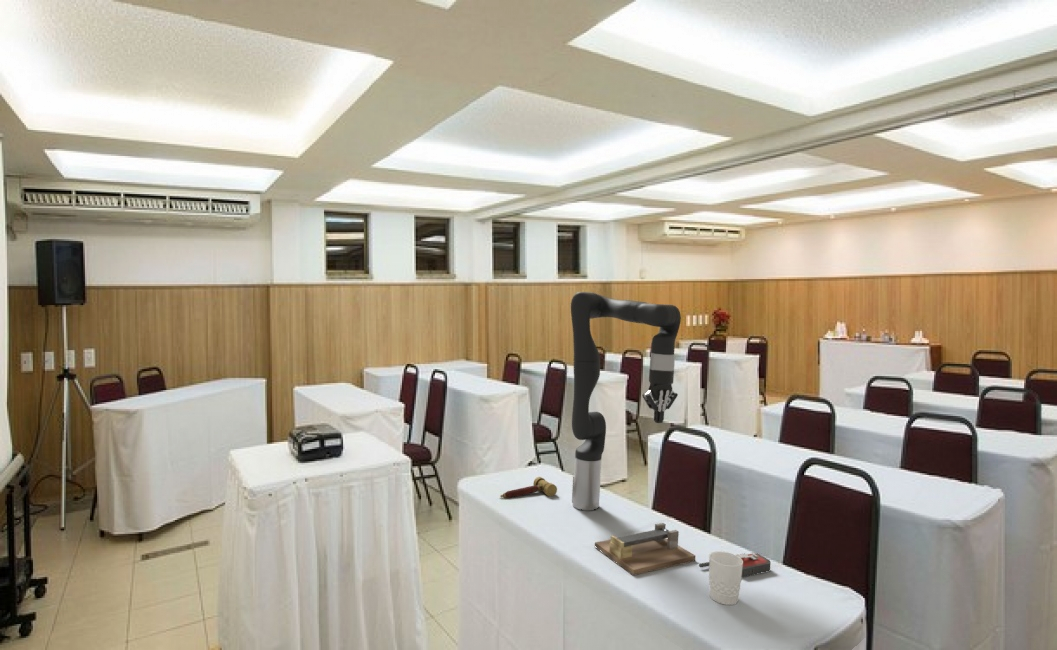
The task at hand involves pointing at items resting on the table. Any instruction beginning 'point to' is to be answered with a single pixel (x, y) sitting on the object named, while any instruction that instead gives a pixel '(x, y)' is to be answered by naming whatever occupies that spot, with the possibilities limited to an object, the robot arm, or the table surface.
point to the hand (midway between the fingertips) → (658, 422)
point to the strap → (644, 537)
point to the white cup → (725, 577)
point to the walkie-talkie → (750, 564)
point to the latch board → (647, 553)
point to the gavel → (533, 489)
